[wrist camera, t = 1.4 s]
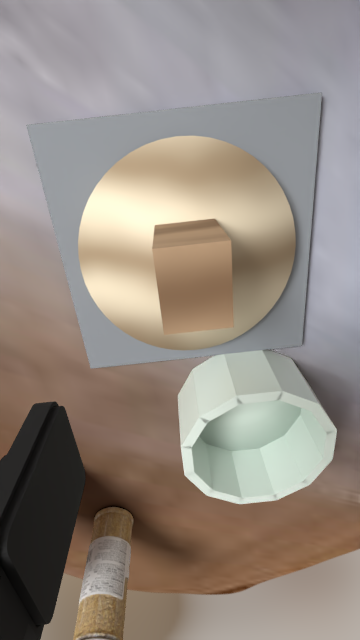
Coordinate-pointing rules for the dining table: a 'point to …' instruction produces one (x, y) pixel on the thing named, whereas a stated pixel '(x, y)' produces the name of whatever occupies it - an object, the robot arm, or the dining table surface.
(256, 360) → the bowl
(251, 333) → the mat
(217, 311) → the lid
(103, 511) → the sprinkles bottle
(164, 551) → the dining table surface
